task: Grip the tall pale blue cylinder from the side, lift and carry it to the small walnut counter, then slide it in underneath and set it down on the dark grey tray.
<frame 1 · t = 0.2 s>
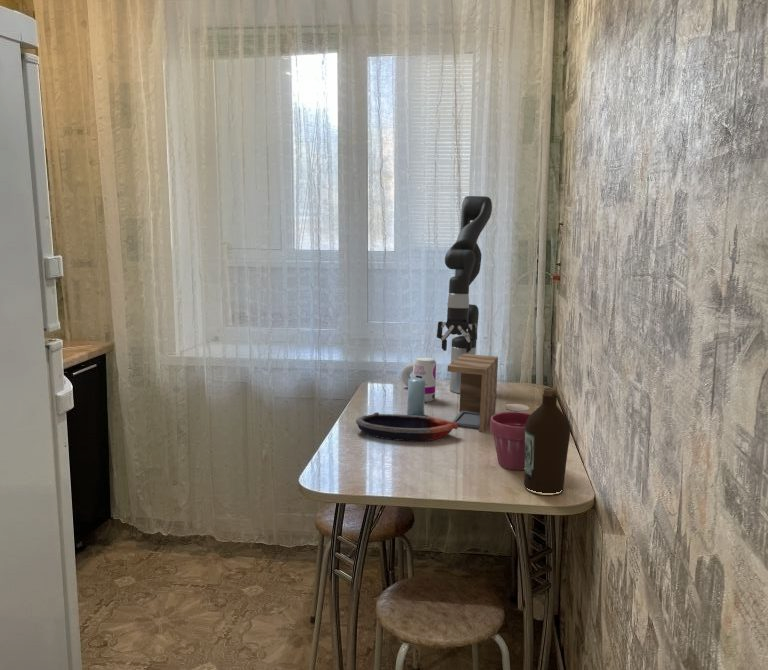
hand: (456, 351, 245), 18 cm above the table, tool pointing down, fingers open, 8 cm apart
counter: (471, 420, 223), on the table
tall pale blue cylinder: (415, 414, 228), on the table
tray: (470, 421, 222), on the table
donut: (413, 388, 263), on the table
supplement can: (423, 399, 248), on the table
olive oil: (543, 489, 168), on the table
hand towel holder: (519, 426, 220), on the table
dish: (405, 435, 207), on the table
plant pot: (514, 465, 184), on the table
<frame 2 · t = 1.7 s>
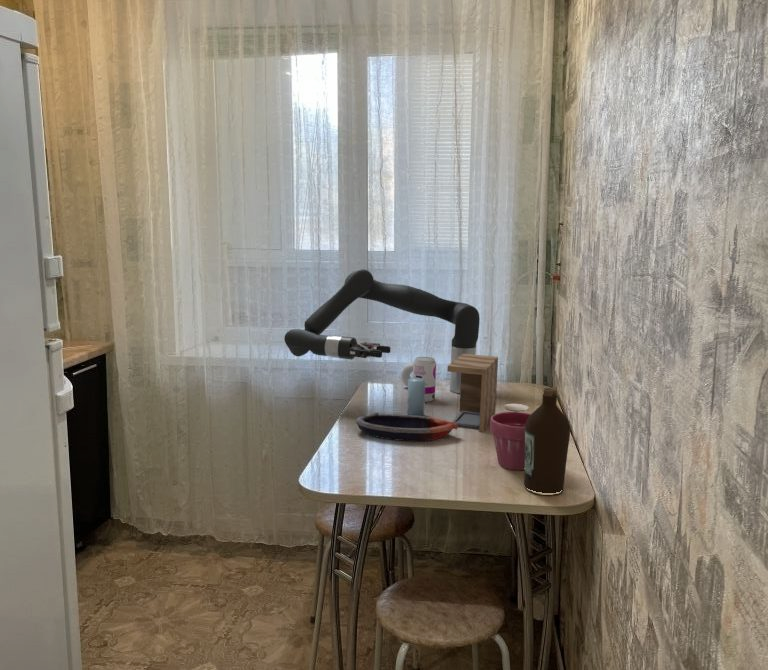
hand: (386, 352, 228), 20 cm above the table, tool horizontal, fingers open, 8 cm apart
nothing on the table moved.
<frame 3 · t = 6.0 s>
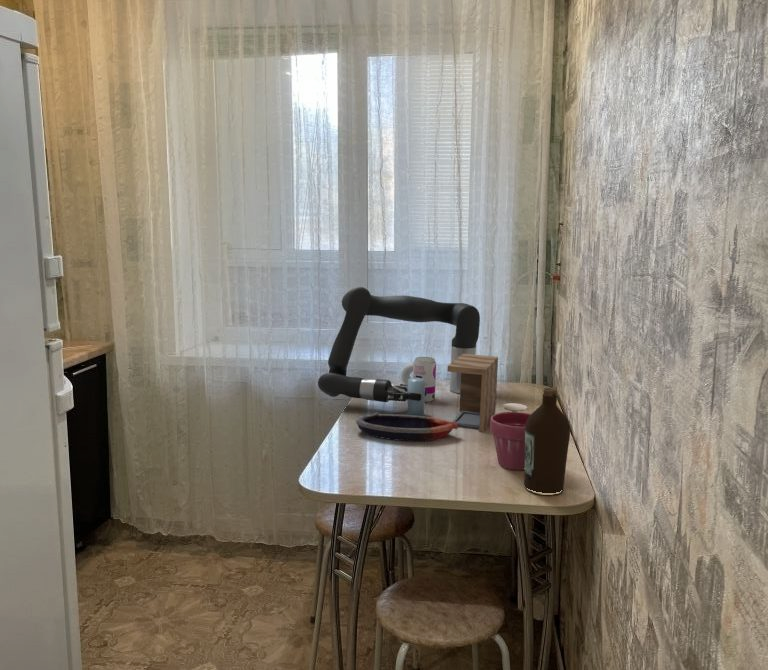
hand: (423, 395, 226), 7 cm above the table, tool horizontal, fingers closed on tall pale blue cylinder, 5 cm apart
tall pale blue cylinder: (415, 414, 228), on the table, touching gripper
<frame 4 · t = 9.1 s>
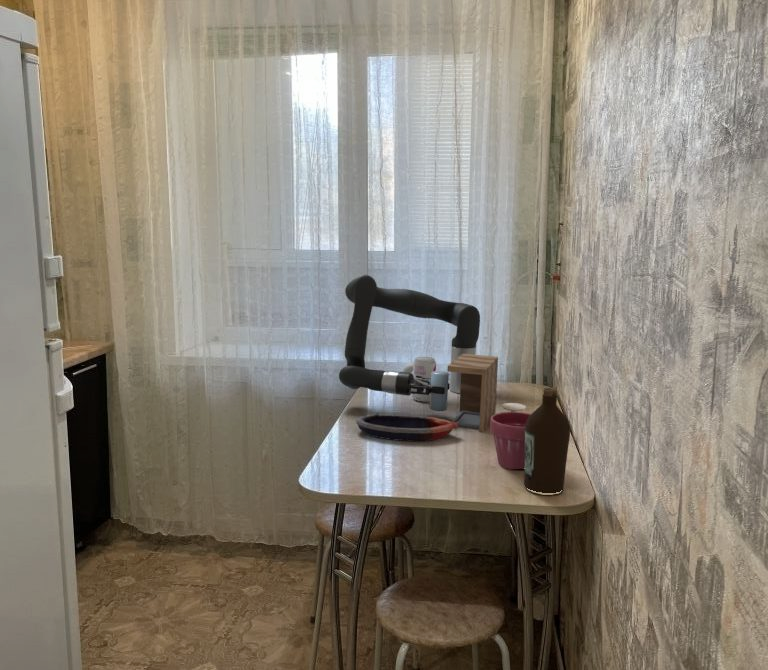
hand: (446, 388, 223), 10 cm above the table, tool horizontal, fingers closed on tall pale blue cylinder, 5 cm apart
tall pale blue cylinder: (438, 408, 225), point 3 cm above the table, touching gripper
when the fingers open (8 cm above the table, at t = 12.1 s): tall pale blue cylinder stays where it is, resting on tray.
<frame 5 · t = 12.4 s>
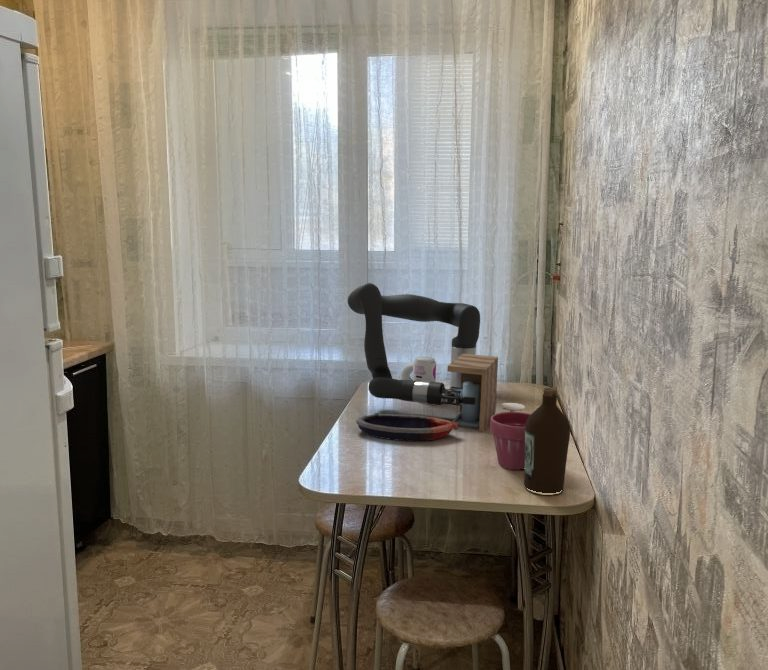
hand: (477, 398, 220), 8 cm above the table, tool horizontal, fingers open, 7 cm apart
tall pale blue cylinder: (470, 419, 222), point 1 cm above the table, touching tray
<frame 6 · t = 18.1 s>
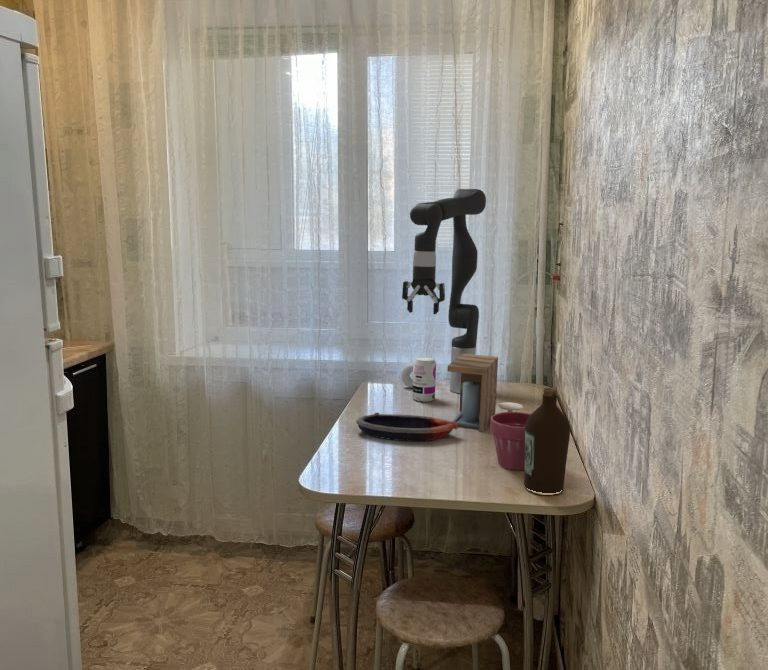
hand: (422, 313, 230), 33 cm above the table, tool pointing down, fingers open, 8 cm apart
at the end: tall pale blue cylinder inside the target area (0.1 cm from its centre), point 0.6 cm above the table; tall pale blue cylinder tilted 0°; the gripper is holding nothing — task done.
